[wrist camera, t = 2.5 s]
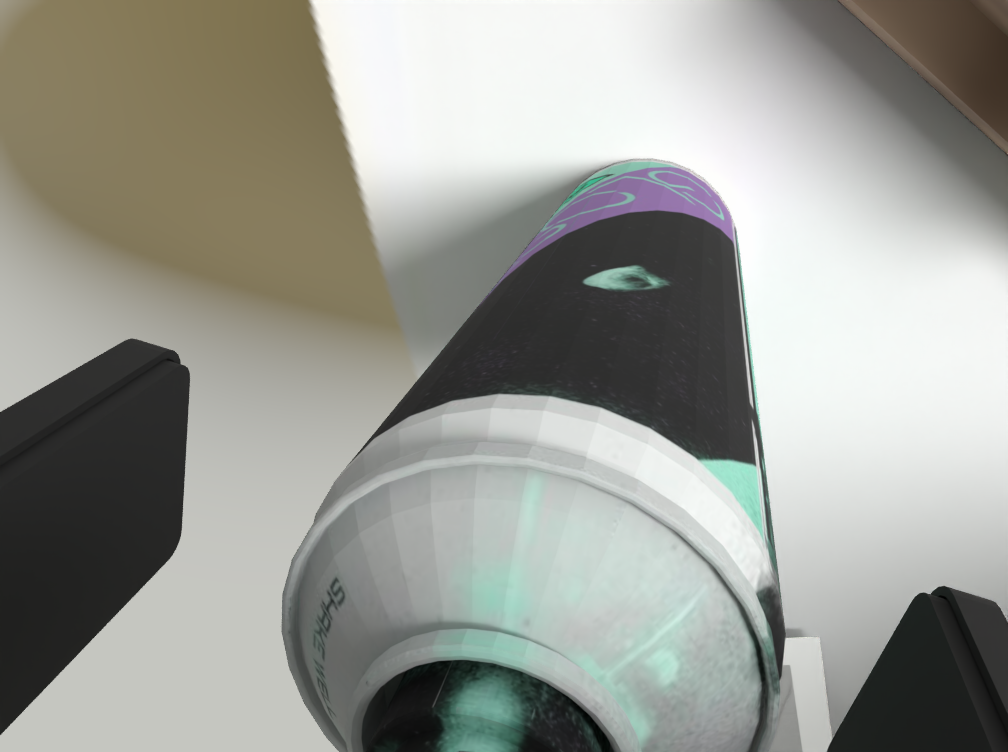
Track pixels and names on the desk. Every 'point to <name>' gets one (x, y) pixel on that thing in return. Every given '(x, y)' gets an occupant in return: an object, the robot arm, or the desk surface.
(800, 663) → the touchpad
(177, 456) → the robot arm
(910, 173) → the desk surface
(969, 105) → the display stand
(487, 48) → the desk surface
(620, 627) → the spray can
